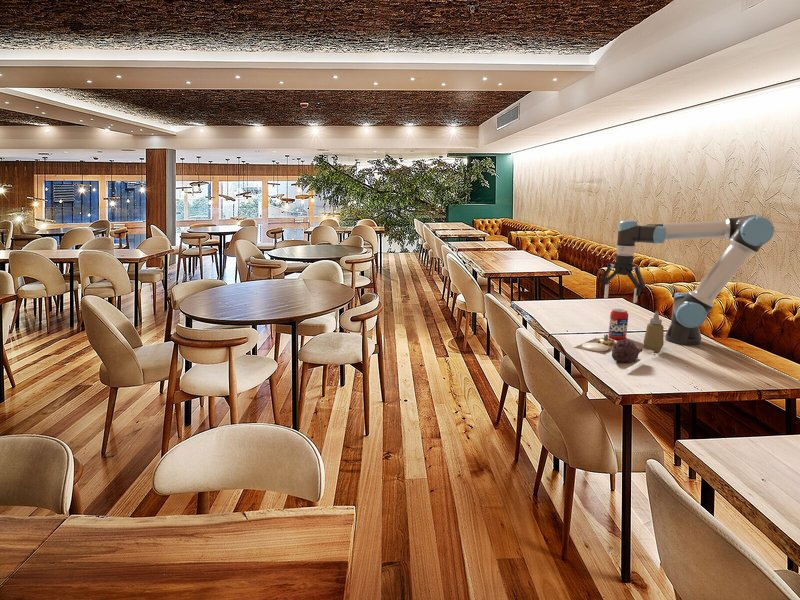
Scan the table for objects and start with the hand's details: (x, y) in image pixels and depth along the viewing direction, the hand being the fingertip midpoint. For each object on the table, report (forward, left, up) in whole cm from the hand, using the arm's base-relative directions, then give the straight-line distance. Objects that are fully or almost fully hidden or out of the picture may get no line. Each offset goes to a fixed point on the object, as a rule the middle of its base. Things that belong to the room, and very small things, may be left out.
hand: (620, 300), depth 249 cm
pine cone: (-16, +32, -20) cm, 41 cm away
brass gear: (0, +13, -18) cm, 22 cm away
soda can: (0, 0, -20) cm, 20 cm away
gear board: (0, +19, -20) cm, 27 cm away
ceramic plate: (0, +23, -18) cm, 30 cm away
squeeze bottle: (-18, +5, -20) cm, 27 cm away
